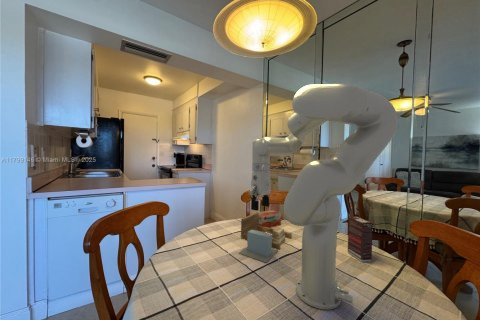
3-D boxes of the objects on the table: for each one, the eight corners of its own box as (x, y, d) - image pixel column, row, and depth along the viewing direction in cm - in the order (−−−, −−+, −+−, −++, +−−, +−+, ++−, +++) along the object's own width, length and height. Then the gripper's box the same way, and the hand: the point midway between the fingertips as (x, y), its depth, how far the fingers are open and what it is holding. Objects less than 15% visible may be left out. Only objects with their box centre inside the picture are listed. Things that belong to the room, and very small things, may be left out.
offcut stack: (285, 240, 100) (285, 228, 100) (278, 245, 93) (279, 232, 93) (277, 238, 102) (277, 226, 102) (271, 243, 95) (271, 231, 95)
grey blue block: (271, 253, 84) (271, 234, 84) (267, 256, 81) (268, 237, 81) (251, 247, 90) (251, 229, 90) (247, 249, 87) (247, 231, 87)
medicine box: (272, 221, 128) (272, 209, 128) (281, 225, 122) (281, 212, 122) (253, 225, 120) (254, 212, 120) (262, 230, 113) (262, 216, 113)
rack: (291, 238, 102) (292, 218, 102) (279, 249, 89) (279, 227, 88) (256, 229, 114) (257, 211, 114) (240, 238, 100) (241, 218, 100)
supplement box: (372, 261, 80) (373, 222, 80) (361, 262, 79) (362, 222, 79) (356, 251, 88) (357, 216, 88) (346, 252, 87) (347, 216, 87)
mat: (278, 251, 87) (278, 250, 87) (266, 263, 77) (266, 262, 77) (252, 243, 94) (253, 243, 94) (238, 253, 84) (238, 252, 84)
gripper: (259, 168, 76) (258, 213, 76) (277, 168, 90) (276, 205, 90) (242, 168, 80) (242, 210, 80) (262, 167, 94) (262, 203, 94)
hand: (260, 207), depth 85 cm, fingers open, 9 cm apart
